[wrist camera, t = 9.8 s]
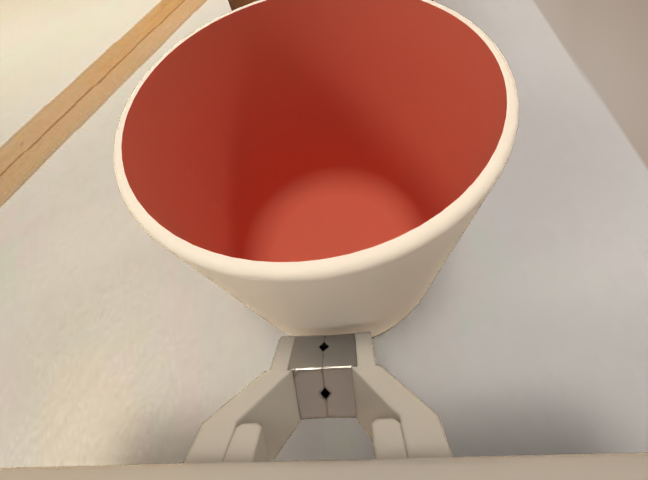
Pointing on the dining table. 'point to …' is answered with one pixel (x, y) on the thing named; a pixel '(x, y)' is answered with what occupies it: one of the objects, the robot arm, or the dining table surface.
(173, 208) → the cup
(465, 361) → the dining table surface
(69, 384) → the dining table surface
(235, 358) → the dining table surface
